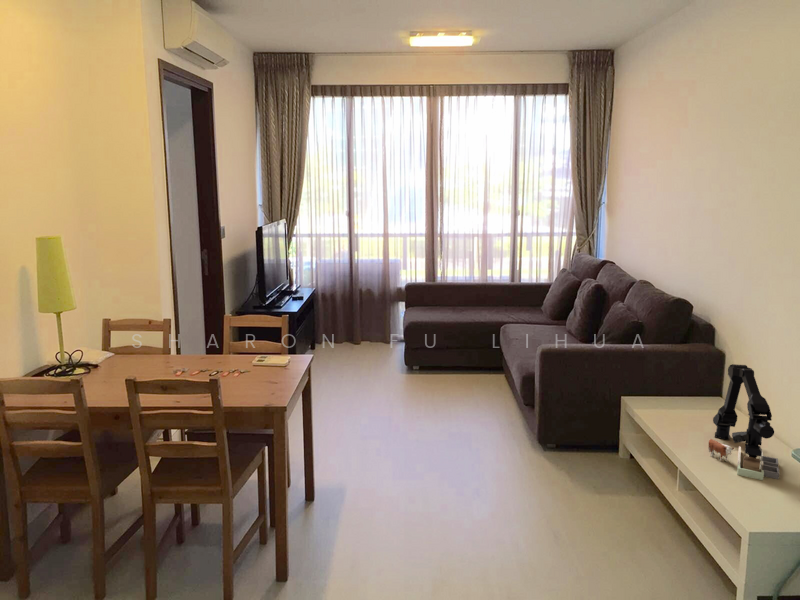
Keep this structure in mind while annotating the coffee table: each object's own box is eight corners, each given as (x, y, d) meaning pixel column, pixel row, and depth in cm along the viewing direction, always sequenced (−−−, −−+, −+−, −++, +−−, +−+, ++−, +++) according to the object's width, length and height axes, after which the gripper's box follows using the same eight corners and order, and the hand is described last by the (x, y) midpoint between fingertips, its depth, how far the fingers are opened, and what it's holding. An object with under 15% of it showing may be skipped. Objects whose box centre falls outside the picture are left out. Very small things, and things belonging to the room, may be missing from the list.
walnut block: (742, 466, 277) (744, 455, 276) (758, 469, 274) (759, 458, 273) (742, 471, 272) (744, 461, 271) (758, 475, 269) (760, 464, 268)
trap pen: (738, 451, 292) (739, 445, 291) (776, 459, 285) (777, 452, 284) (737, 474, 269) (738, 468, 268) (779, 483, 262) (780, 477, 261)
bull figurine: (726, 466, 277) (729, 448, 275) (704, 453, 290) (706, 436, 288) (735, 465, 278) (737, 447, 276) (712, 452, 291) (714, 435, 289)
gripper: (734, 418, 286) (730, 450, 289) (734, 432, 270) (729, 466, 273) (763, 423, 281) (758, 456, 284) (764, 438, 264) (759, 472, 267)
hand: (750, 462), depth 277 cm, fingers closed
